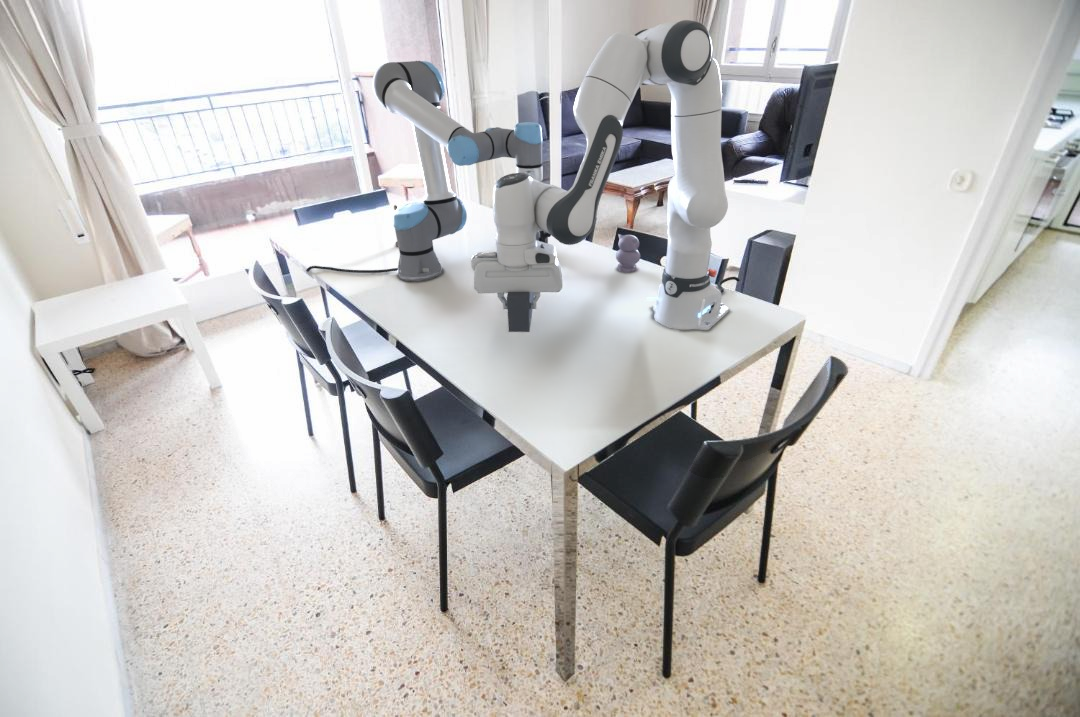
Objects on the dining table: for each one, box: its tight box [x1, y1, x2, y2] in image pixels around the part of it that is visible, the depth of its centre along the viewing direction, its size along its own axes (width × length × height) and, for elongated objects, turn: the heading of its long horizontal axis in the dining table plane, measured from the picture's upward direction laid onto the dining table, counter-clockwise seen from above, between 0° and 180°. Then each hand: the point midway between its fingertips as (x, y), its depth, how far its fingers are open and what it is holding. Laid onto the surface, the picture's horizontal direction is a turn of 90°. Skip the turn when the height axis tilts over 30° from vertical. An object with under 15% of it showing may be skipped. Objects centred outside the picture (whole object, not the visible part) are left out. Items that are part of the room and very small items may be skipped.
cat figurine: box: [615, 233, 641, 273], centre depth 170 cm, size 8×8×12 cm
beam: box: [506, 231, 540, 333], centre depth 135 cm, size 53×5×9 cm, turn 177°
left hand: (531, 258), depth 156 cm, fingers closed on beam, 5 cm apart
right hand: (520, 308), depth 117 cm, fingers closed on beam, 5 cm apart
